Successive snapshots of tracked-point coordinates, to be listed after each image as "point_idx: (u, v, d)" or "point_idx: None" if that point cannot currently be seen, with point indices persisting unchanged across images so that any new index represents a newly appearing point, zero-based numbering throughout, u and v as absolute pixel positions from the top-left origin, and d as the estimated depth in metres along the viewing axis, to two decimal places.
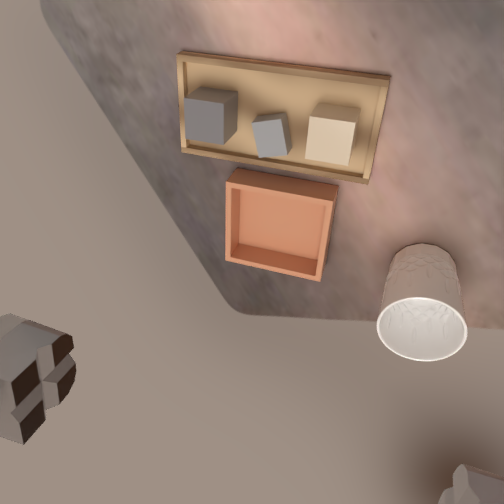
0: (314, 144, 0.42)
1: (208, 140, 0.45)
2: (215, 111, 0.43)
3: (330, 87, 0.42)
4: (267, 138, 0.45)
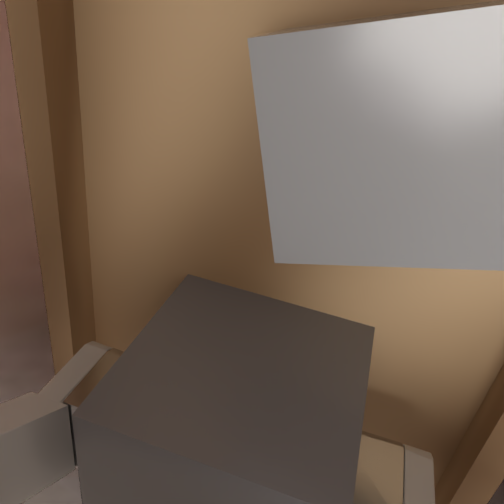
0: None
1: None
2: (127, 472, 0.07)
3: None
4: (396, 172, 0.06)
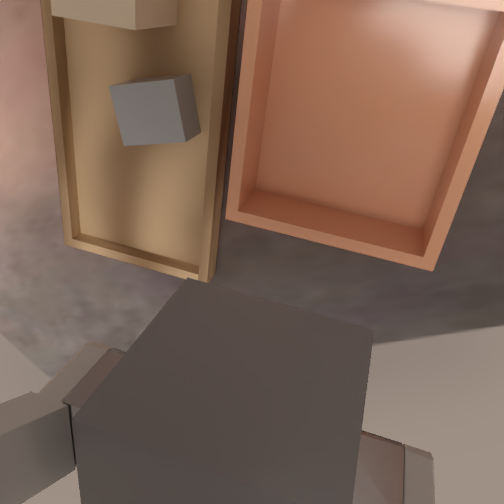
0: (102, 4, 0.19)
1: None
2: (127, 476, 0.07)
3: None
4: (145, 117, 0.23)
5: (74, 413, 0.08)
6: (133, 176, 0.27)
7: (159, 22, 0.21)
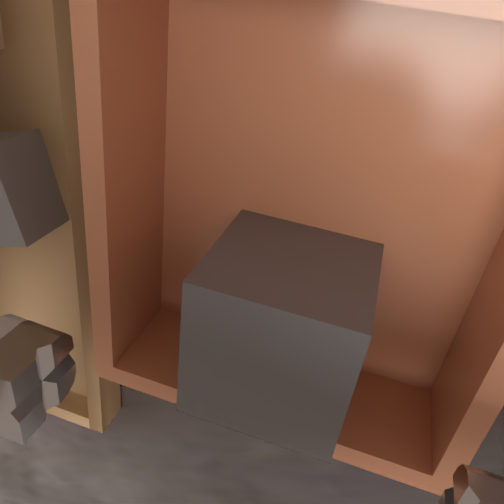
0: None
1: (343, 389, 0.10)
2: (218, 324, 0.10)
3: None
4: None
5: None
6: None
7: None
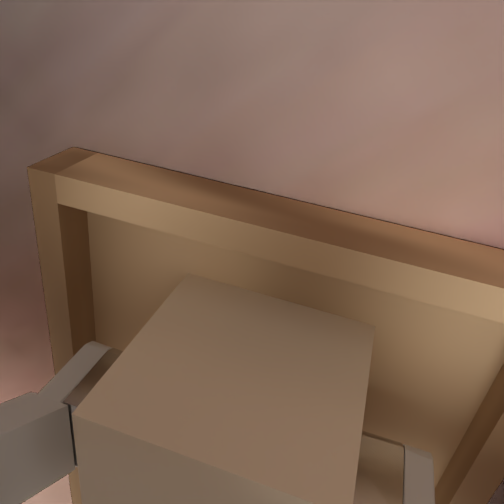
0: None
1: None
2: None
3: None
4: None
5: None
6: None
7: None
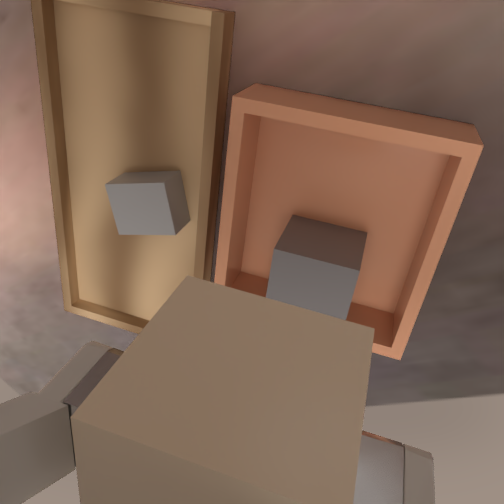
0: None
1: (347, 297, 0.21)
2: (289, 268, 0.22)
3: (75, 92, 0.25)
4: (139, 212, 0.25)
5: None
6: (128, 253, 0.29)
7: None
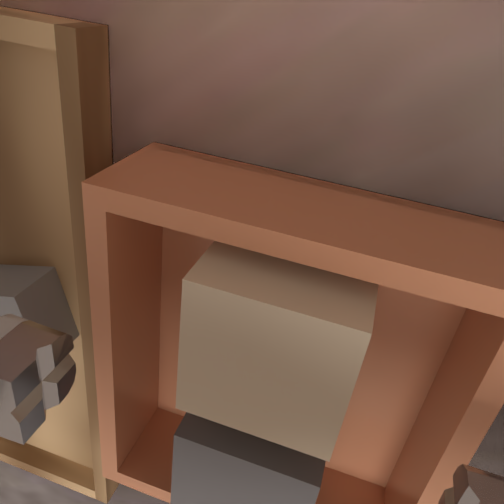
0: (274, 421, 0.11)
1: None
2: (202, 465, 0.13)
3: None
4: None
5: None
6: None
7: None
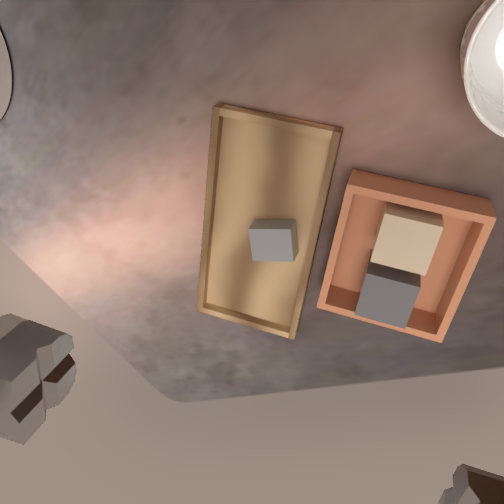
0: (407, 261, 0.33)
1: (411, 303, 0.35)
2: (375, 285, 0.35)
3: (228, 169, 0.39)
4: (269, 247, 0.39)
5: None
6: (249, 271, 0.43)
7: None
